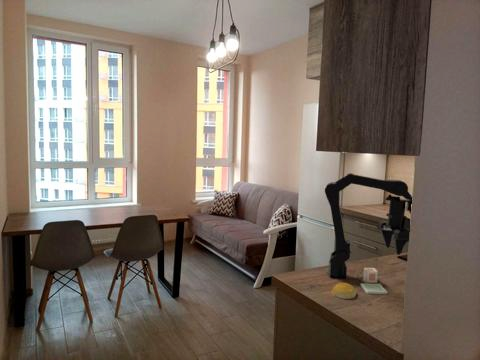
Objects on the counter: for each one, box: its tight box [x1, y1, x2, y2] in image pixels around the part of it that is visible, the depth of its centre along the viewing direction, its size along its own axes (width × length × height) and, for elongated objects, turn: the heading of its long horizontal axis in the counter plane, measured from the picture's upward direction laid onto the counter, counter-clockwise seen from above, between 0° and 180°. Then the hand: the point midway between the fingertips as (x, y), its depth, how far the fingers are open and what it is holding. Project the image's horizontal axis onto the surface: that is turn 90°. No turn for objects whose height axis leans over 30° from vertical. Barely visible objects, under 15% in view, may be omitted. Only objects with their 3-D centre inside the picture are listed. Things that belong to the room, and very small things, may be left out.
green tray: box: [360, 282, 388, 295], centre depth 135 cm, size 7×7×1 cm
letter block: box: [363, 267, 379, 283], centre depth 143 cm, size 4×4×5 cm
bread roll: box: [331, 282, 357, 300], centre depth 130 cm, size 8×9×4 cm
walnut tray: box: [357, 275, 384, 287], centre depth 143 cm, size 7×7×1 cm
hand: (392, 250), depth 141 cm, fingers open, 9 cm apart
